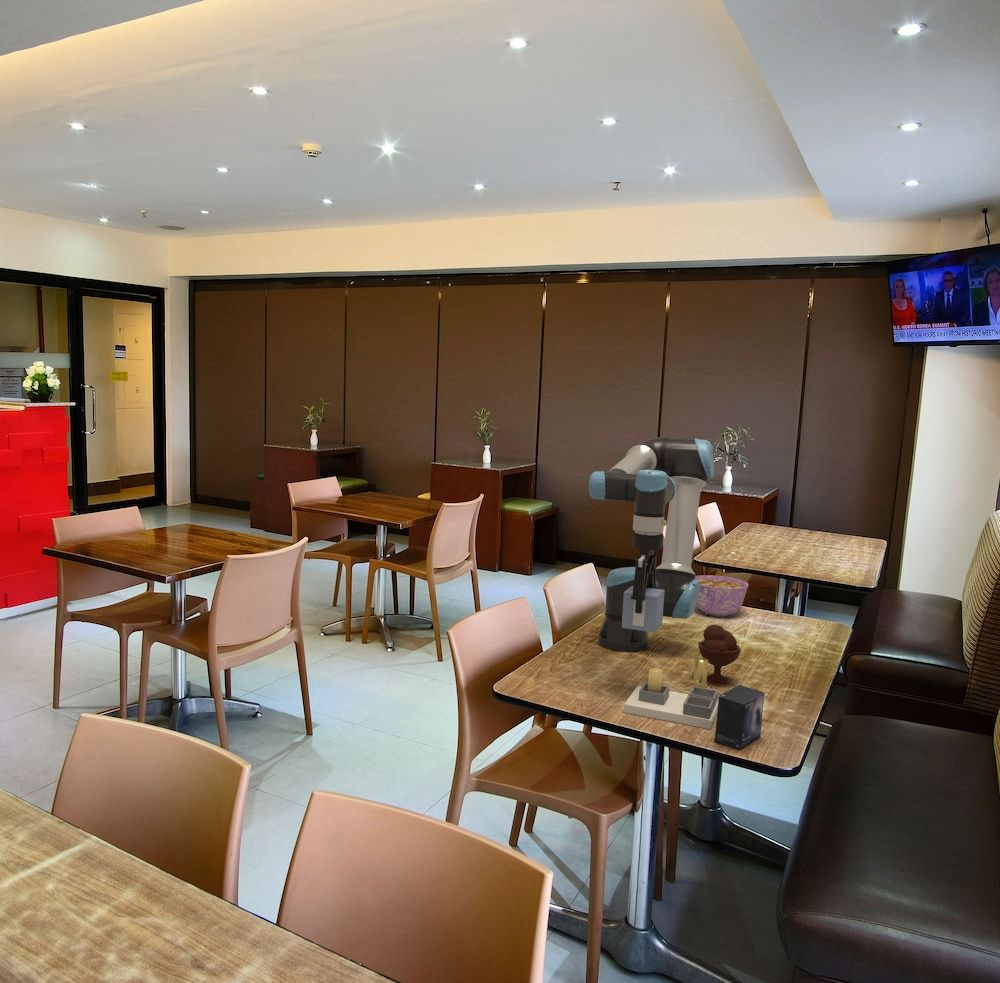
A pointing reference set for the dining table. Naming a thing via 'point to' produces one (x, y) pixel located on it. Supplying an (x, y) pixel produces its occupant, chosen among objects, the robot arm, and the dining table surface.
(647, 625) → the cover
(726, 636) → the ice cream bowl
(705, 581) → the bowl of food
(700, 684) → the brass pin
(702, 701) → the pin board
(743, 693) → the small box
